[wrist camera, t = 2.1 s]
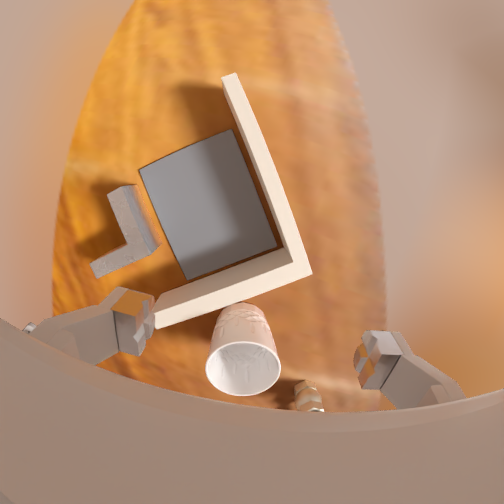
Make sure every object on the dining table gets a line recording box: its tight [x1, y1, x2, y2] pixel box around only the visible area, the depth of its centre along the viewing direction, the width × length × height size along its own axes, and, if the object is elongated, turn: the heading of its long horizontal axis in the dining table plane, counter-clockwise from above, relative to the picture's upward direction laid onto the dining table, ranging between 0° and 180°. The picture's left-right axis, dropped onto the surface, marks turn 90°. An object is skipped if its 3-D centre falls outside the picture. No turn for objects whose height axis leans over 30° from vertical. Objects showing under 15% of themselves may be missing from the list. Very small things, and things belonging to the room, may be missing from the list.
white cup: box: [205, 302, 281, 396], centre depth 31 cm, size 8×8×10 cm
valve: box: [294, 380, 324, 412], centre depth 38 cm, size 7×7×12 cm
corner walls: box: [152, 73, 312, 329], centre depth 28 cm, size 18×22×6 cm
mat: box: [139, 129, 277, 281], centre depth 31 cm, size 12×15×1 cm
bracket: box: [90, 185, 162, 278], centre depth 29 cm, size 8×8×5 cm
